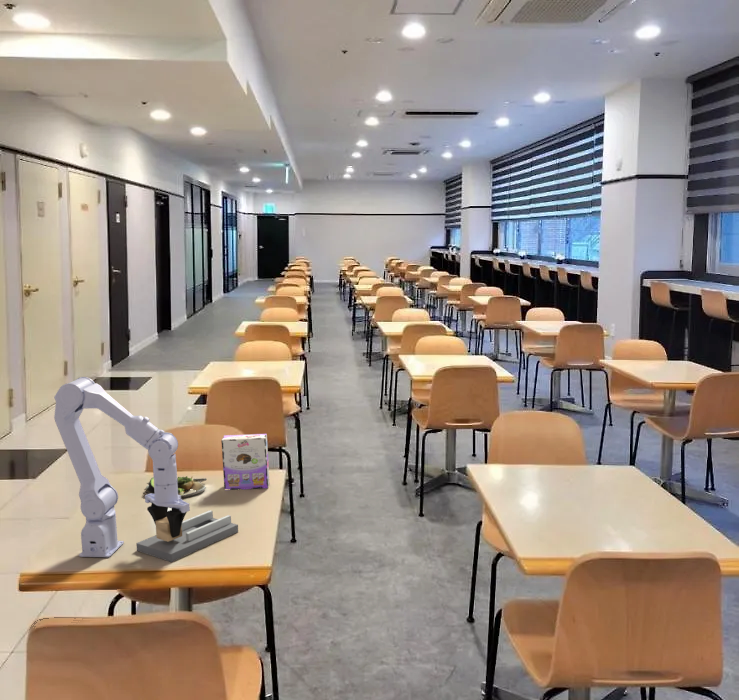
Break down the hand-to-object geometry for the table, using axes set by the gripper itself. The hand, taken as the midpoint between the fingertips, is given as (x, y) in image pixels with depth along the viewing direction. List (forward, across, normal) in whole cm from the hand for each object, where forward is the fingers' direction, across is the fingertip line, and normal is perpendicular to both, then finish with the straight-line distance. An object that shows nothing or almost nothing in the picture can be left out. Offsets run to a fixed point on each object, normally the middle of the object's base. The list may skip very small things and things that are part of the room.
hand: (168, 534), depth 202 cm
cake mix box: (+4, +18, -47) cm, 50 cm away
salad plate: (+5, +34, -31) cm, 47 cm away
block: (+1, 0, 0) cm, 1 cm away
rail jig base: (+4, 0, -6) cm, 7 cm away
